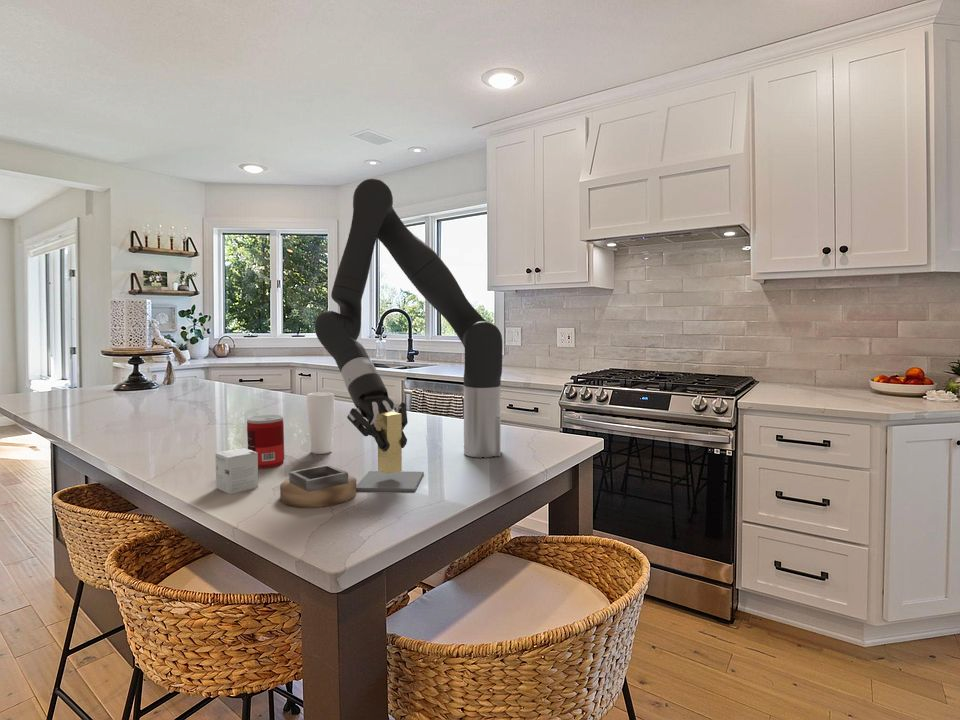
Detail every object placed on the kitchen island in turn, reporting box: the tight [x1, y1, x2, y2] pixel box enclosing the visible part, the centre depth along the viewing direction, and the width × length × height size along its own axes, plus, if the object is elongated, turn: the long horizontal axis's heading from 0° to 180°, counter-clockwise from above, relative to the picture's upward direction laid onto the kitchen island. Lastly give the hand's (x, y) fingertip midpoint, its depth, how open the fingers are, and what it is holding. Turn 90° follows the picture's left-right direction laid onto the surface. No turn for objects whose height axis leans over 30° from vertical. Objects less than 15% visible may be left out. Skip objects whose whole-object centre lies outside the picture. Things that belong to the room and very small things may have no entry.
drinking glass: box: [306, 391, 336, 455], centre depth 139 cm, size 7×7×15 cm
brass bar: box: [377, 411, 403, 474], centre depth 113 cm, size 4×4×12 cm
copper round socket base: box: [279, 464, 358, 509], centre depth 105 cm, size 14×14×4 cm
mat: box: [356, 470, 425, 492], centre depth 113 cm, size 12×12×1 cm
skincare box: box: [215, 447, 259, 495], centre depth 109 cm, size 6×6×7 cm
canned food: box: [246, 414, 285, 469], centre depth 127 cm, size 8×8×11 cm
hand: (395, 447), depth 111 cm, fingers closed on brass bar, 3 cm apart
